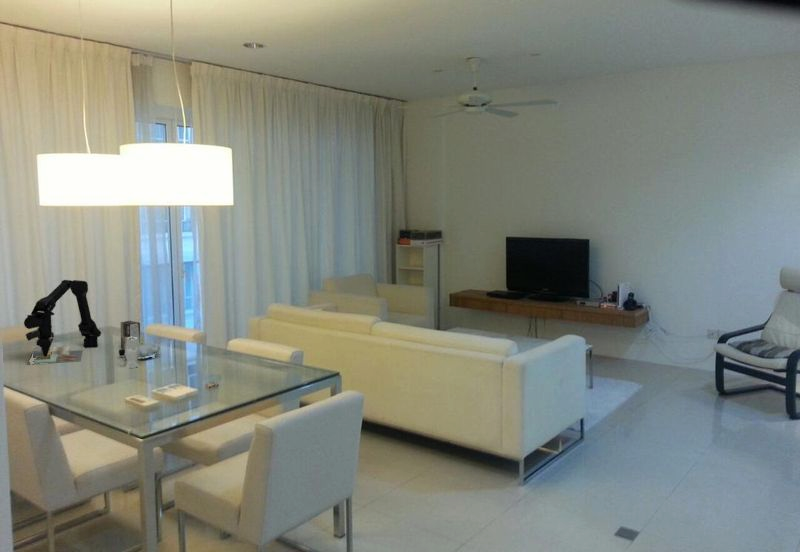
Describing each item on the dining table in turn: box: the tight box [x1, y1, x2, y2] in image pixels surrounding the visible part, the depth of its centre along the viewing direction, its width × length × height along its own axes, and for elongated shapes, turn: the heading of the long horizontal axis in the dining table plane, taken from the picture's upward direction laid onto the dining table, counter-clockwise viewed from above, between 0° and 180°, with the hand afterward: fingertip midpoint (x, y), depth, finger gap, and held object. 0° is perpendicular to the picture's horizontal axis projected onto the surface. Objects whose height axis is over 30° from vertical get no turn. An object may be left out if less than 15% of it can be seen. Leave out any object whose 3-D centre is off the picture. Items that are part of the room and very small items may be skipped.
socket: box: [60, 355, 76, 362], centre depth 318 cm, size 7×7×1 cm
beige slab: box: [51, 345, 71, 356], centre depth 327 cm, size 8×8×3 cm
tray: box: [34, 354, 58, 365], centre depth 313 cm, size 10×10×2 cm
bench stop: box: [32, 346, 41, 358], centre depth 322 cm, size 3×9×4 cm, turn 25°
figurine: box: [118, 342, 161, 359], centre depth 328 cm, size 17×8×20 cm
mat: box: [26, 349, 84, 366], centre depth 321 cm, size 24×24×1 cm
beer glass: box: [125, 337, 140, 365], centre depth 310 cm, size 7×7×15 cm
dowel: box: [41, 348, 51, 359], centre depth 313 cm, size 4×4×6 cm
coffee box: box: [120, 320, 141, 350], centre depth 340 cm, size 9×6×16 cm
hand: (45, 354), depth 313 cm, fingers open, 6 cm apart
